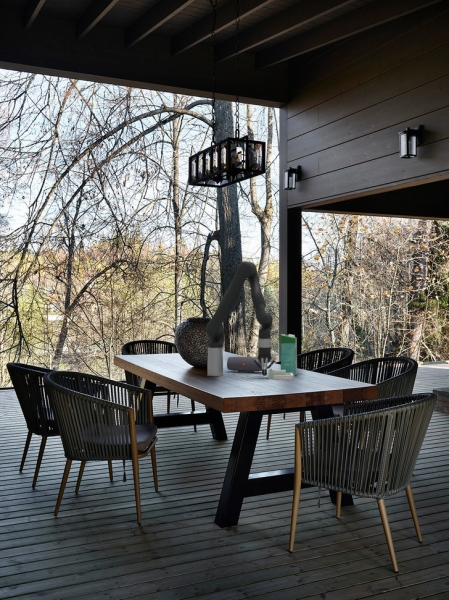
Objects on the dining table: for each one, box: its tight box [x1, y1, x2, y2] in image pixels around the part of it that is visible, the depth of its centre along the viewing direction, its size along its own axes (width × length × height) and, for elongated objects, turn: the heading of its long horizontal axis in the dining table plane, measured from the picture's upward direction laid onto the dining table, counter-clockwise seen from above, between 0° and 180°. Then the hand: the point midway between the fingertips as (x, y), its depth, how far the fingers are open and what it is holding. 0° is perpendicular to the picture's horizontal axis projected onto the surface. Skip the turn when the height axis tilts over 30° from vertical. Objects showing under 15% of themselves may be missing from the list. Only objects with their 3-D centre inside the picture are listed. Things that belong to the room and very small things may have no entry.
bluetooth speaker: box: [226, 356, 265, 374], centre depth 401 cm, size 23×9×10 cm, turn 71°
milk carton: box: [280, 333, 298, 377], centre depth 389 cm, size 9×9×25 cm
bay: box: [273, 373, 294, 381], centre depth 372 cm, size 12×12×2 cm
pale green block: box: [267, 368, 286, 380], centre depth 372 cm, size 10×6×6 cm, turn 86°
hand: (264, 375), depth 373 cm, fingers closed
